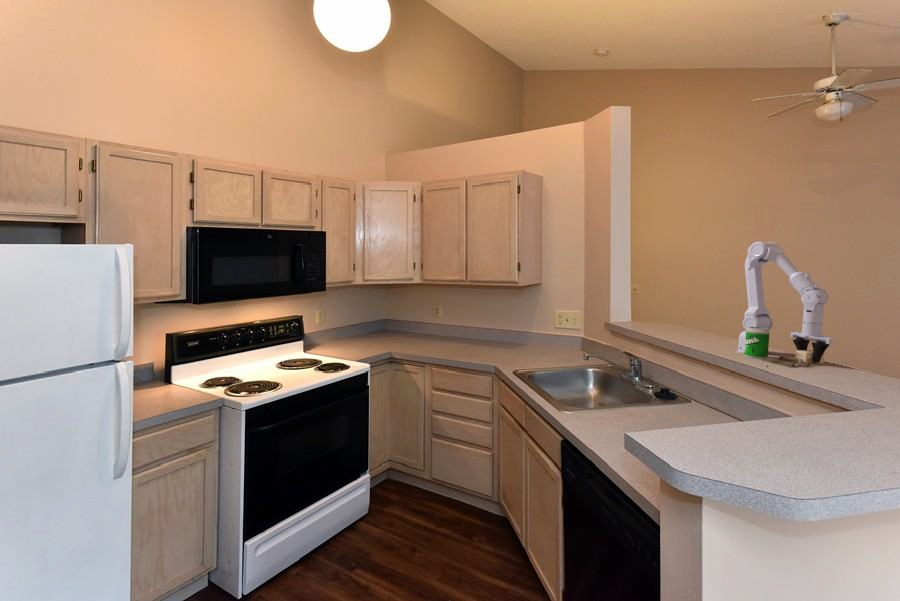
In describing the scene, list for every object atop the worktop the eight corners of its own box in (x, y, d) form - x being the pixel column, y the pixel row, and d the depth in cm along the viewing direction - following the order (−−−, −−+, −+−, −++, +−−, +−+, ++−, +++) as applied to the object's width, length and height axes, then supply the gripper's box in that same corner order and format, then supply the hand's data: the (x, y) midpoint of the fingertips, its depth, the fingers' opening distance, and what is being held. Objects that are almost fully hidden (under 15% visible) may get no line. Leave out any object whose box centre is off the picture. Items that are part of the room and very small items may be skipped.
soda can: (760, 358, 188) (763, 326, 187) (771, 362, 180) (774, 329, 179) (740, 357, 188) (742, 326, 187) (750, 361, 181) (752, 329, 180)
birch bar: (805, 363, 174) (806, 352, 173) (795, 361, 177) (795, 350, 177) (823, 363, 176) (824, 352, 175) (812, 360, 179) (813, 349, 179)
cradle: (760, 362, 179) (761, 353, 178) (804, 361, 184) (805, 351, 183) (790, 370, 167) (791, 360, 167) (836, 368, 172) (837, 358, 172)
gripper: (785, 320, 181) (782, 356, 182) (823, 325, 167) (819, 365, 168) (800, 320, 183) (797, 356, 184) (839, 325, 169) (836, 364, 170)
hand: (809, 360), depth 176 cm, fingers open, 5 cm apart
